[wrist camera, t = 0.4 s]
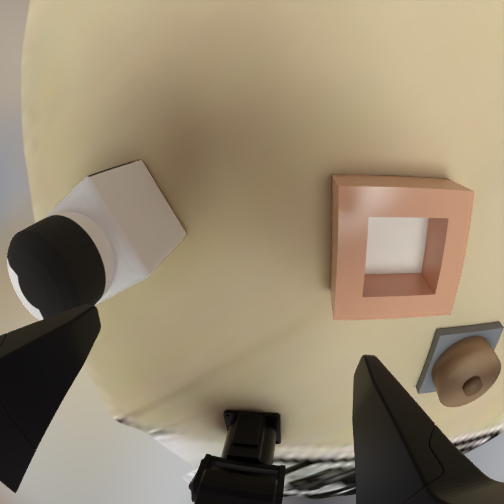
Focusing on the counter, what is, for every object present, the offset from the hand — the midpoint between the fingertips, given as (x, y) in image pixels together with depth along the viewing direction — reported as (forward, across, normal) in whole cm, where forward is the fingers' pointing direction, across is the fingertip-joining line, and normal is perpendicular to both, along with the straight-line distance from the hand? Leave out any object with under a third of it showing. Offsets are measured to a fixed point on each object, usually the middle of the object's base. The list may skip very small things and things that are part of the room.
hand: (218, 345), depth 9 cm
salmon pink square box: (+14, -9, 0) cm, 17 cm away
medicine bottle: (+14, +11, +1) cm, 18 cm away
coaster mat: (+14, -21, +11) cm, 28 cm away
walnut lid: (+13, -21, +11) cm, 27 cm away
